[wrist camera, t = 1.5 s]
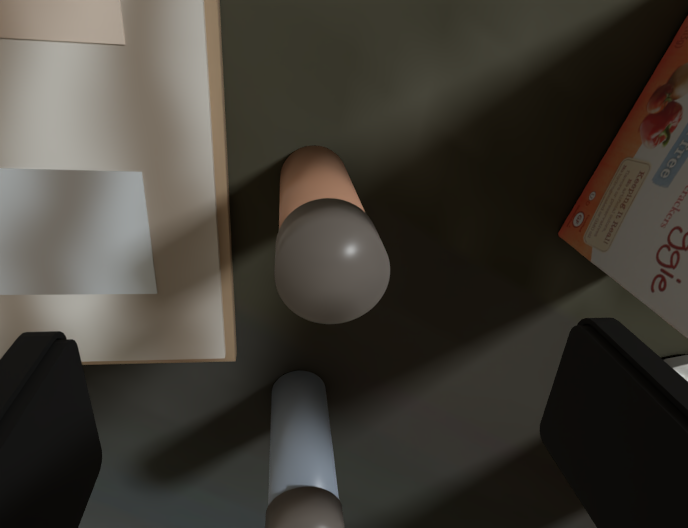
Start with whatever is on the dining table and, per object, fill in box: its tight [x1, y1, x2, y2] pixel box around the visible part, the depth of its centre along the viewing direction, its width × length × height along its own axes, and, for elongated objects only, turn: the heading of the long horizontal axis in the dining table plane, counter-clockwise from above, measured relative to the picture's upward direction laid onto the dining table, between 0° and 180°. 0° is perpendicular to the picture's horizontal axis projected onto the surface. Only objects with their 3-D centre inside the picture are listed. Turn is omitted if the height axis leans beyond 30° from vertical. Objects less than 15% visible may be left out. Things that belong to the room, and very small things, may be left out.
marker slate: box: [265, 371, 344, 528], centre depth 24 cm, size 3×3×10 cm
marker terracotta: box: [275, 146, 390, 324], centre depth 19 cm, size 3×3×10 cm
